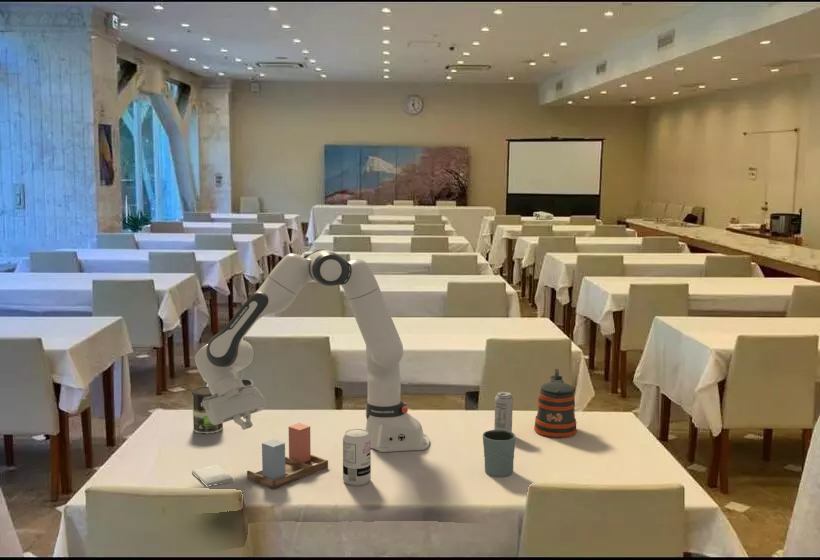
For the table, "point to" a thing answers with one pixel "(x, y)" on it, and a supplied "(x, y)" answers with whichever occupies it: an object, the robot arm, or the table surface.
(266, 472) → the blue-grey rectangular block
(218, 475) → the external hard drive
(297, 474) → the wooden compartment tray
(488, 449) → the teal cup
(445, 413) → the table surface
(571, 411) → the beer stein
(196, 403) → the coffee can
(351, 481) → the supplement can
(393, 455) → the table surface
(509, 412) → the energy drink can
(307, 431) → the brick key
